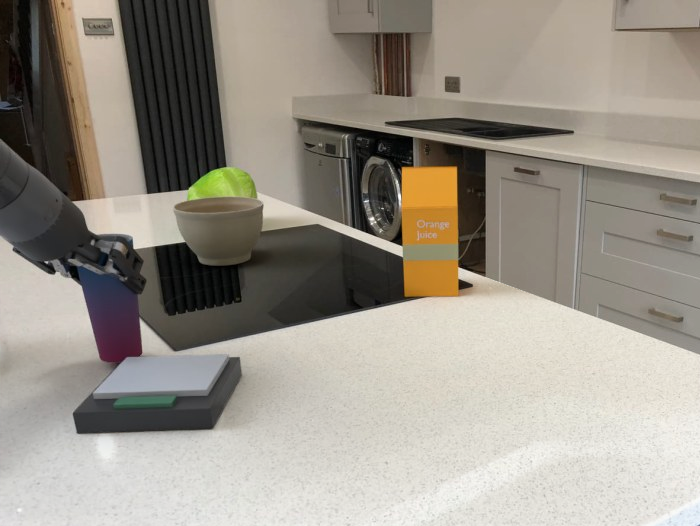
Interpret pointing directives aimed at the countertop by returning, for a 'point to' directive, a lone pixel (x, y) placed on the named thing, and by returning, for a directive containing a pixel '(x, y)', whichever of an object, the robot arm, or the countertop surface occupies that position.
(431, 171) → the orange juice
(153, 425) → the scale
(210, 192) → the lettuce
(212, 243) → the planter bowl
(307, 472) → the countertop surface
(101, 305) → the cup
